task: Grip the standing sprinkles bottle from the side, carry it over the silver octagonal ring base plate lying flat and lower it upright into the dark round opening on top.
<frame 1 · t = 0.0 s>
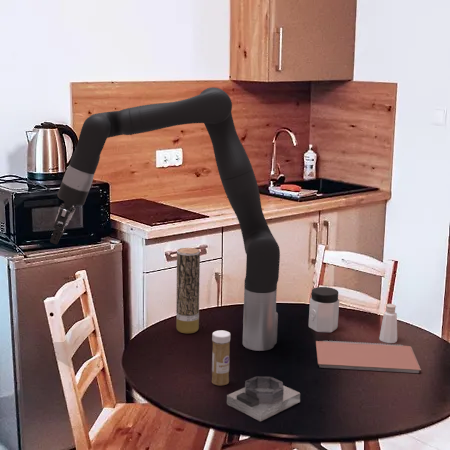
hand: (56, 239, 192), 31 cm above the table, tool tilted 20°, fingers open, 8 cm apart
salt shaker: (388, 340, 210), on the table
octagonal ring base plate: (263, 403, 169), on the table
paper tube: (187, 330, 213), on the table
notebook: (365, 360, 197), on the table
sprinkles bottle: (220, 383, 180), on the table
jar: (322, 328, 218), on the table
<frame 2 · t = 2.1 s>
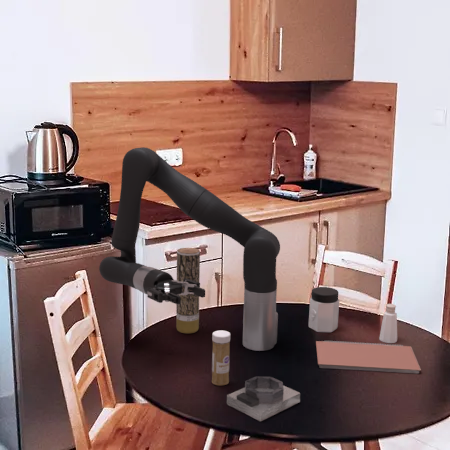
hand: (192, 297, 183), 20 cm above the table, tool horizontal, fingers open, 8 cm apart
nothing on the table moved.
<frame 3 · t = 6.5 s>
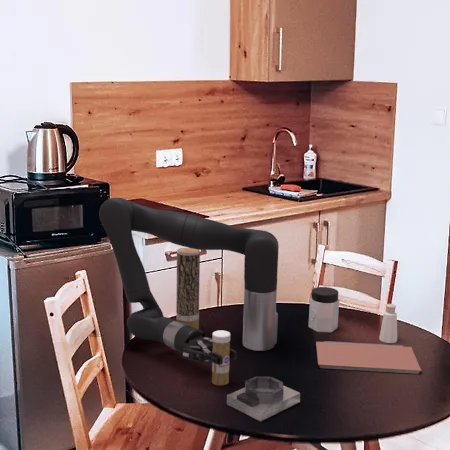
hand: (228, 358, 176), 8 cm above the table, tool horizontal, fingers closed on sprinkles bottle, 4 cm apart
sprinkles bottle: (220, 383, 180), on the table, touching gripper
everything else where it was.
when the fingers open (11 cm above the table, at t = 10.8 s): sprinkles bottle drops 1 cm, resting on octagonal ring base plate.
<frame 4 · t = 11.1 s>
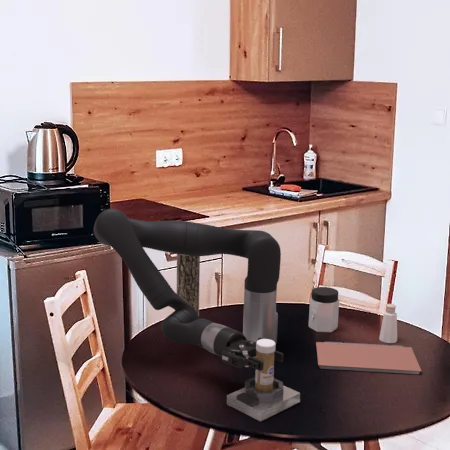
hand: (272, 362, 165), 11 cm above the table, tool horizontal, fingers open, 6 cm apart
sprinkles bottle: (263, 394, 169), point 2 cm above the table, touching octagonal ring base plate
everything else where it was.
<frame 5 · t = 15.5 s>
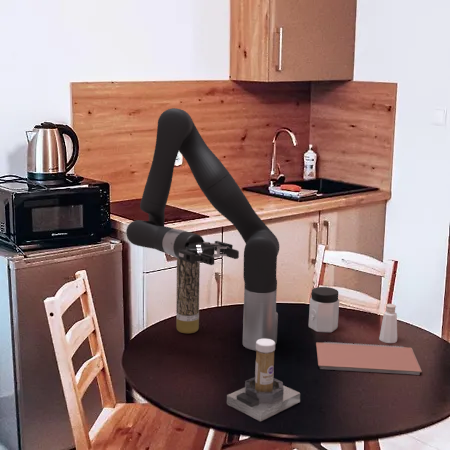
hand: (225, 258, 176), 32 cm above the table, tool horizontal, fingers open, 8 cm apart
at the end: sprinkles bottle inside the target area on the octagonal ring base plate (0.1 cm from its centre), point 2.2 cm above the octagonal ring base plate's base; sprinkles bottle tilted 0°; the gripper is holding nothing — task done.
